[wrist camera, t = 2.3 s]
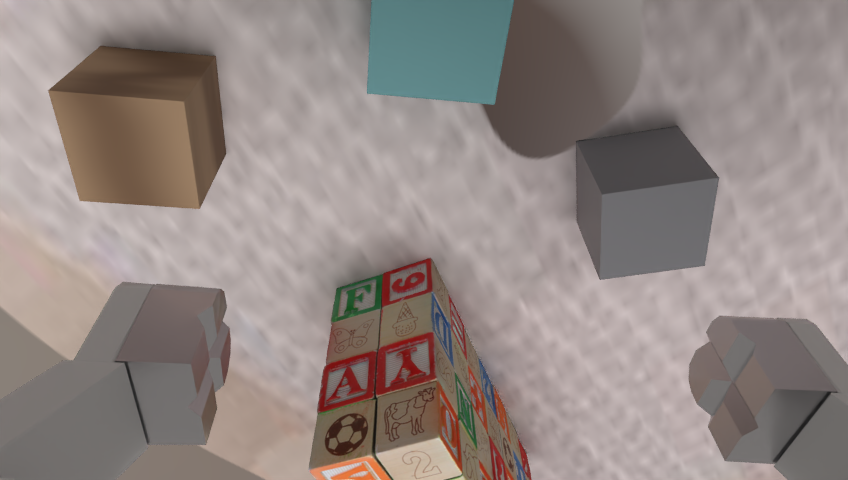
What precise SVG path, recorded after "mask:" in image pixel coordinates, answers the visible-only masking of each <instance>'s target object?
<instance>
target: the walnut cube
mask: <svg viewBox="0 0 848 480" xmlns="http://www.w3.org/2000/svg"><path fill="white" fill-rule="evenodd" d="M48 91H49V95H50V98H51V102H52V105H53V109H54V112H55V116H56V119H57V123H58V126H59V130H60V133H61V137H62V140H63V144H64V147H65V151H66V154H67V158H68V161H69V165H70V168H71V171H72V175H73V178H74V182H75V185H76V189H77V192H78V196H79V199H80V201H90V202H105V203H120V204H135V205H149V206H164V207H179V208H194V209H200V207H201V205H202V203H203V201H204V199H205V197H206V195H207V193H208V190H209V188H210V186H211V184H212V182H213V180H214V178H215V176H216V174H217V172H218V170H219V168H220V166H221V164H222V161H223V159H224V157H225V155H226V148H225V138H224V129H223V120H222V110H221V101H220V92H219V83H218V73H217V64H216V56H208V55H196V54H185V53H174V52H163V51H151V50H140V49H129V48H117V47H106V46H100V47H99V48H98V49H96V50H95V51H94V52H93V53H92V54H91V55H89V56H88V57H87V58H86V59H85V60H84V61H82V62H81V63H80V64H79V65H78V66H76V67H75V68H74V69H73V70H72V71H71V72H69V73H68V74H67V75H66V76H65V77H64V78H62V79H61V80H60V81H59V82H58V83H57V84H55V85H54V86H53V87H52V88H51V89H50V90H48Z"/></svg>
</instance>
